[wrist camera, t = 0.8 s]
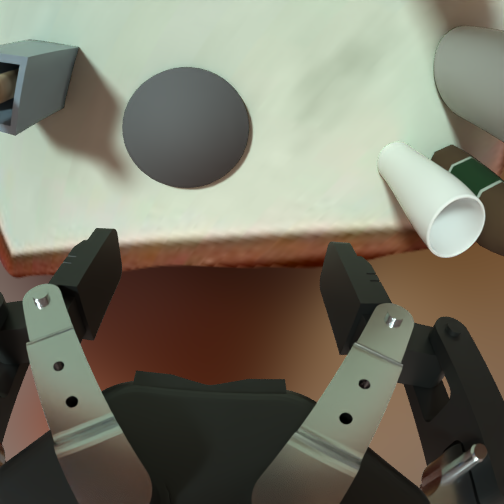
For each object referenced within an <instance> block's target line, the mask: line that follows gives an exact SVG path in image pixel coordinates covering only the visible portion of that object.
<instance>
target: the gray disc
mask: <svg viewBox="0 0 504 504" xmlns="http://www.w3.org/2000/svg"><path fill="white" fill-rule="evenodd" d="M122 129H123V138H124V143H125V146H126V149H127V151H128V153H129V155H130V157H131V158H132V160H133V162H134V163H135V164H136V165H137V166H138V168H139V169H140V170H142V171H143V172H144V173H145V174H146V175H148V176H149V177H150V178H152V179H154V180H156V181H158V182H160V183H163V184H165V185H169V186H173V187H179V188H191V187H199V186H203V185H206V184H210V183H212V182H214V181H216V180H218V179H220V178H221V177H223V176H224V175H226V174H227V173H228V172H229V171H230V170H231V169H232V168H233V167H234V166H235V165H236V164H237V162H238V161H239V160H240V158H241V156H242V154H243V152H244V150H245V147H246V144H247V140H248V133H249V123H248V115H247V111H246V108H245V105H244V103H243V101H242V99H241V97H240V95H239V94H238V93H237V91H236V90H235V89H234V88H233V87H232V86H231V85H230V84H229V83H228V82H227V81H226V80H224V79H223V78H221V77H220V76H218V75H216V74H214V73H212V72H210V71H207V70H203V69H200V68H193V67H181V68H173V69H170V70H166V71H163V72H161V73H159V74H156V75H155V76H153V77H151V78H150V79H148V80H147V81H145V82H144V83H143V84H142V85H141V86H140V87H139V88H138V89H137V90H136V91H135V93H134V94H133V95H132V97H131V98H130V100H129V102H128V104H127V107H126V109H125V112H124V117H123V126H122Z"/></svg>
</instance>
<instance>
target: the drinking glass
mask: <svg viewBox="0 0 504 504" xmlns="http://www.w3.org/2000/svg"><path fill="white" fill-rule="evenodd" d="M377 167H378V171H379V173H380V175H381V176H382V177H383V178H384V180H385V181H386V182H387V184H388V185H389V187H390V189H391V190H392V192H393V194H394V195H395V197H396V199H397V200H398V202H399V204H400V206H401V207H402V209H403V211H404V213H405V214H406V216H407V218H408V220H409V221H410V223H411V225H412V226H413V228H414V229H415V231H416V232H417V234H418V235H419V236H420V238H421V239H422V241H423V242H424V243H425V244H426V246H427V247H428V248H429V250H430V251H431V252H432V253H433V254H435V255H436V256H439V257H444V258H448V257H453V256H456V255H459V254H461V253H463V252H464V251H466V250H467V249H468V248H469V247H471V246H472V245H473V243H474V242H475V241H476V240H477V238H478V237H479V235H480V233H481V231H482V229H483V226H484V223H485V209H484V206H483V204H482V202H481V201H480V199H479V198H478V197H477V196H476V195H475V194H474V193H473V192H472V191H471V190H470V189H469V188H468V187H467V186H466V185H465V184H464V183H463V182H462V181H460V180H459V179H458V178H457V177H455V176H454V175H453V174H451V173H450V172H449V171H447V170H446V169H444V168H443V167H441V166H440V165H438V164H436V163H435V162H433V161H432V160H430V159H429V158H427V157H426V156H424V155H422V154H421V153H419V152H418V151H416V150H415V149H413V148H412V147H411V146H410V145H408V144H406V143H404V142H392V143H390V144H388V145H386V146H385V147H384V148H383V149H382V150H381V152H380V154H379V156H378V160H377Z"/></svg>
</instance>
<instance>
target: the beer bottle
mask: <svg viewBox="0 0 504 504" xmlns="http://www.w3.org/2000/svg"><path fill="white" fill-rule="evenodd" d="M431 160H432V161H433V162H435V163H436V164H438V165H440V166H441V167H443V168H444V169H446V170H447V171H449V172H450V173H451V174H453V175H454V176H455V177H457V178H458V179H459V180H460V181H462V182H463V183H464V184H465V185H466V186H467V187H468V188H469V189H470V190H471V191H472V192H473V193H474V194H475V195H476V196H477V197H478V198H479V199H480V201H481V202H482V204H483V206H484V209H485V223H484V226H483V229H482V231H481V233H480V235H479V237H478V238H477V240H476V242H477V243H478V244H479V245H480V246H482V247H484V248H486V249H488V250H490V251H492V252H494V253H497V254H499V255H502V256H504V181H503V180H502V179H501V178H500V177H499V176H497V175H496V174H495V173H494V172H492V171H491V170H490V169H489V168H487V167H486V166H485V165H483V164H482V163H481V162H480V161H478V160H477V159H476V158H474V157H473V156H471V155H469V154H468V153H466V152H465V151H463V150H461V149H459V148H458V147H456V146H454V145H450V146H447V147H445V148H443V149H441V150H438V151H436V152H435V153H434V155H433V157H432V159H431Z"/></svg>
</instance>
